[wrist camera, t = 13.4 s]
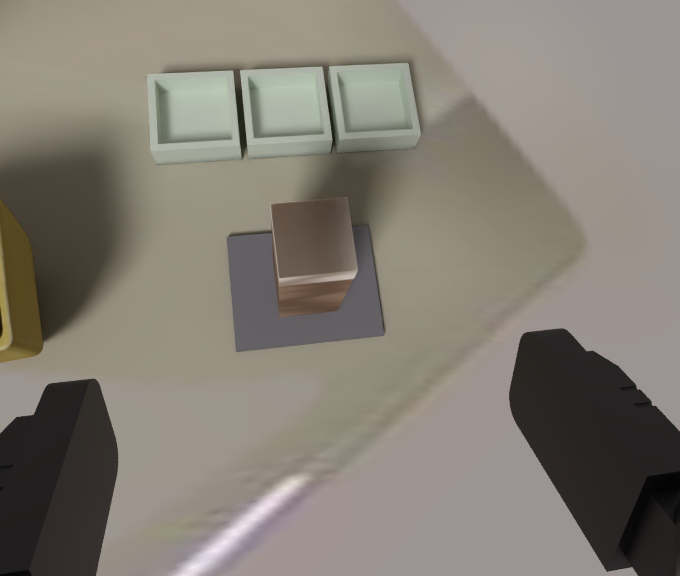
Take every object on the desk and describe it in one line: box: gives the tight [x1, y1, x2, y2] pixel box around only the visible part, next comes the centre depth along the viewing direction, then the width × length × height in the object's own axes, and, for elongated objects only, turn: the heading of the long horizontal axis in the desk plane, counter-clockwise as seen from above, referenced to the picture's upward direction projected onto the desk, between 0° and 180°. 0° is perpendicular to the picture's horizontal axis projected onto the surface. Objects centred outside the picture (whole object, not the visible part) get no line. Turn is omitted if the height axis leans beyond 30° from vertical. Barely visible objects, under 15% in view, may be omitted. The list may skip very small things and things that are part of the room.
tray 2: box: [240, 67, 332, 159], centre depth 41 cm, size 6×6×2 cm
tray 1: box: [147, 71, 242, 165], centre depth 40 cm, size 6×6×2 cm
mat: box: [227, 225, 384, 352], centre depth 38 cm, size 10×8×1 cm
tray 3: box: [327, 63, 421, 153], centre depth 41 cm, size 6×6×2 cm
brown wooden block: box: [270, 197, 358, 318], centre depth 33 cm, size 4×4×10 cm
